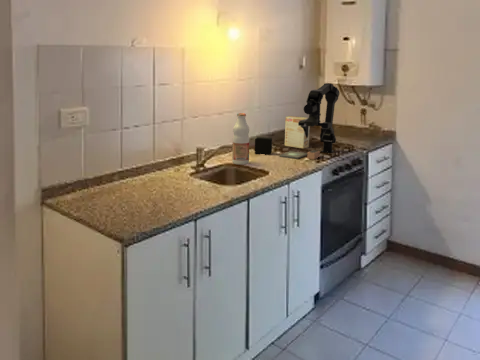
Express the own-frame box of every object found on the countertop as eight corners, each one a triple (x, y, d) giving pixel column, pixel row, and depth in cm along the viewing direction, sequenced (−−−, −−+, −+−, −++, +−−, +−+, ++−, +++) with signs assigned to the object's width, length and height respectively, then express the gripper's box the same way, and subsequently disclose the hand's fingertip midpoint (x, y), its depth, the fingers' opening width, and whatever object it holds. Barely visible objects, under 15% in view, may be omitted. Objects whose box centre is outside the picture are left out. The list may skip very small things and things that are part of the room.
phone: (312, 156, 323) (312, 149, 322) (319, 157, 320) (319, 150, 319) (307, 158, 316) (307, 152, 315) (314, 159, 314) (314, 152, 313)
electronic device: (270, 155, 324) (271, 138, 321) (254, 154, 326) (254, 138, 323) (271, 153, 328) (272, 137, 325) (255, 152, 330) (256, 137, 327)
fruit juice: (229, 162, 302) (229, 113, 295) (242, 160, 307) (243, 112, 300) (238, 165, 294) (239, 115, 287) (252, 163, 300) (253, 114, 293)
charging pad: (290, 152, 332) (290, 151, 331) (308, 155, 326) (308, 153, 325) (279, 156, 319) (279, 155, 319) (297, 159, 313) (297, 157, 313)
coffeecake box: (309, 147, 351) (310, 117, 346) (303, 148, 345) (304, 118, 341) (290, 144, 360) (291, 115, 355) (284, 145, 354) (285, 116, 350)
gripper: (294, 112, 309) (293, 139, 313) (324, 115, 299) (323, 142, 304) (302, 110, 318) (301, 136, 322) (332, 112, 308) (330, 139, 313)
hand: (314, 138), depth 315 cm, fingers open, 9 cm apart
